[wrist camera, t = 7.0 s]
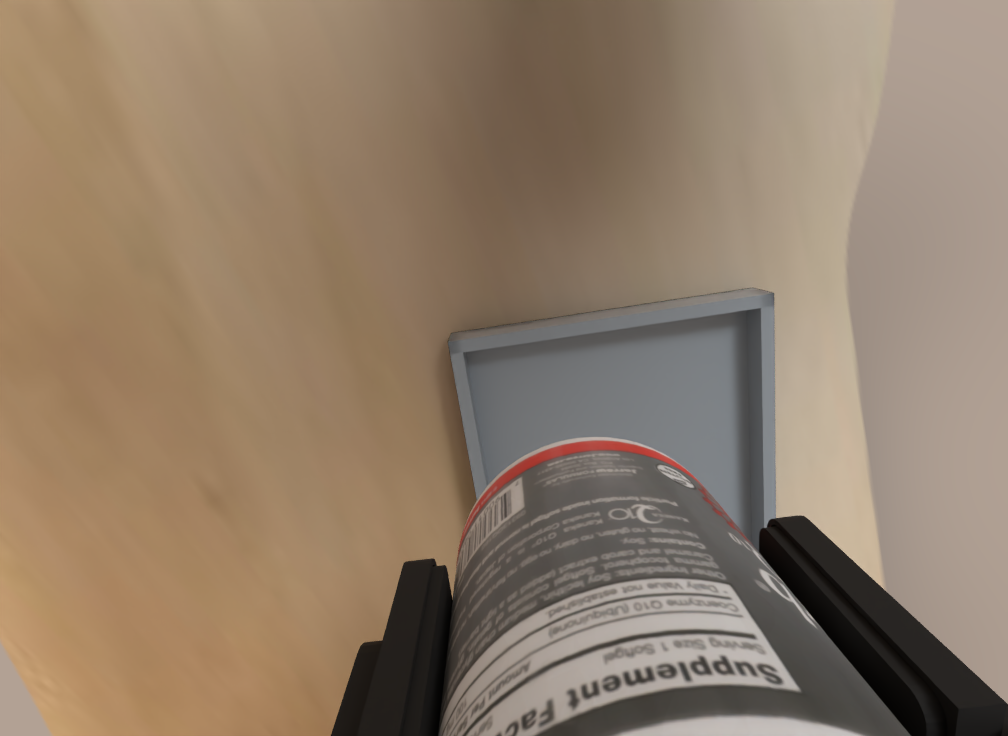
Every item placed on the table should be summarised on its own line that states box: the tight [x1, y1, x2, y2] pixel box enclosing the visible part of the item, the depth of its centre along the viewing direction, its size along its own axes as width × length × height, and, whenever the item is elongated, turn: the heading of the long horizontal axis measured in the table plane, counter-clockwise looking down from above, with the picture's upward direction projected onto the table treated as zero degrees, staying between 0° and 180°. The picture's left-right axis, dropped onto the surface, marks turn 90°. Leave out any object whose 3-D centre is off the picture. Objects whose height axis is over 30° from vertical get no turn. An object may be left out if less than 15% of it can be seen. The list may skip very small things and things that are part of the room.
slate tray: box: [448, 288, 776, 552], centre depth 27 cm, size 16×15×2 cm
